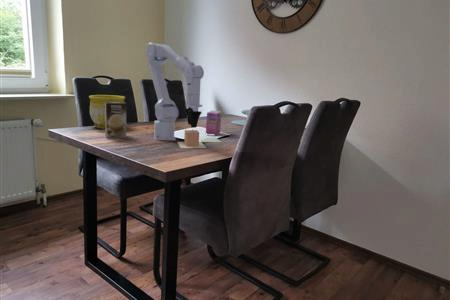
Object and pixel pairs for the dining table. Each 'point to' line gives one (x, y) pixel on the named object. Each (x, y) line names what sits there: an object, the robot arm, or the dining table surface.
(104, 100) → the flowerpot
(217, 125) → the box
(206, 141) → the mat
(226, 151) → the dining table surface
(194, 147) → the plate
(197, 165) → the dining table surface
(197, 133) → the block
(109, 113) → the coffee box
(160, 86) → the robot arm
